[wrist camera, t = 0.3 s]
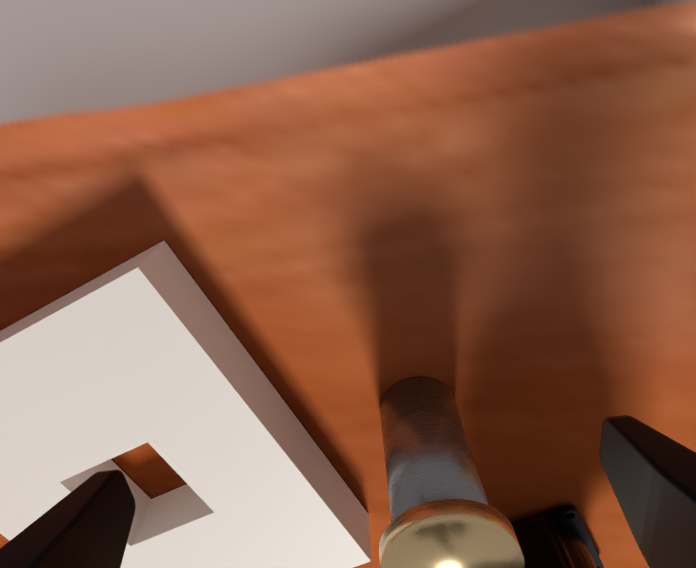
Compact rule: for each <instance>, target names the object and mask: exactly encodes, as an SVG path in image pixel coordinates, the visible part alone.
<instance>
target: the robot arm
mask: <svg viewBox="0 0 696 568" xmlns="http://www.w3.org/2000/svg"><path fill="white" fill-rule="evenodd" d="M600 459H601V463H602V466H603V468H604V470H605V472H606V475H607V477H608V479H609V482H610V484H611V486H612V488H613V491H614V493H615V495H616V497H617V500H618V502H619V504H620V506H621V509H622V511H623V513H624V515H625V518H626V520H627V522H628V525H629V527H630V529H631V531H632V534H633V536H634V538H635V540H636V542H637V544H638V546H639V549H640V550H641V552H642V554H643V556H644V558H645V560H646V562H647V563H648V565H649V567H650V568H696V453H695V452H694V451H692V450H690V449H688V448H686V447H685V446H683V445H681V444H679V443H678V442H676V441H674V440H672V439H671V438H669V437H667V436H665V435H664V434H662V433H660V432H658V431H656V430H655V429H653V428H651V427H649V426H648V425H646V424H644V423H642V422H641V421H639V420H637V419H635V418H633V417H631V416H628V415H623V416H613V417H607V418H605V419H604V421H603V425H602V434H601V443H600ZM135 509H136V503H135V498H134V496H133V494H132V491H131V489H130V487H129V485H128V482H127V480H126V478H125V476H124V474H123V472H122V471H121V470H119V469H112V470H102V471H98V472H96V473H95V474H93V475H92V476H91V477H89V478H88V479H87V480H86V481H84V482H83V483H82V484H81V485H79V486H78V487H77V488H76V489H74V490H73V491H72V492H71V493H69V494H68V495H67V496H66V497H64V498H63V499H62V500H61V501H59V502H58V503H57V504H56V505H54V506H53V507H52V508H51V509H49V510H48V511H47V512H46V513H44V514H43V515H42V516H41V517H39V518H38V519H37V520H35V521H34V522H33V523H32V524H30V525H29V526H28V527H27V528H25V529H24V530H23V531H22V532H20V533H19V534H18V535H17V536H15V537H14V538H13V539H12V540H10V541H9V542H8V543H7V544H5V545H4V546H3V547H2V548H0V568H120V567H121V564H122V560H123V556H124V552H125V549H126V545H127V541H128V537H129V533H130V530H131V526H132V522H133V518H134V515H135ZM512 527H513V529H514V531H515V534H516V537H517V540H518V542H519V545H520V548H521V551H522V553H523V557H524V562H525V567H524V568H604V567H603V564H602V562H601V560H600V558H599V556H598V553H597V551H596V549H595V547H594V545H593V543H592V541H591V538H590V536H589V534H588V532H587V530H586V528H585V526H584V523H583V521H582V519H581V517H580V515H579V513H578V511H577V509H576V507H575V506H574V505H570V504H568V505H564V506H561V507H558V508H555V509H552V510H550V511H547V512H544V513H541V514H538V515H535V516H532V517H529V518H527V519H524V520H521V521H518V522H515V523H512Z"/></svg>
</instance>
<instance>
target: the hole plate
mask: <svg viewBox="0 0 696 568" xmlns="http://www.w3.org/2000/svg"><path fill="white" fill-rule="evenodd" d="M147 442H148V443H149V444H150V445H151V446H152V447H153V448H154V449H155V450H156V451H157V453H158V454H159V455H160V456H161V457H162V458H163V459H164V460H165V461H166V462H167V463H168V464H169V465H170V466H171V467H172V468H173V469H174V470H175V472H176V473H177V474H178V475H179V476H180V477H181V478H182V479H183V480H184V481H185V482H186V483H187V484H186V485H183V486H181V487H178V488H176V489H174V490H171V491H169V492H167V493H164V494H162V495H160V496H157V497H155V498H152V499H151V498H150V497H149V496H148V495H147V494H146V493H144V492H143V491H142V490H141V489H140V488H139V487H138V486H137V485H136V484H135V483H134V482H133V481H132V480H131V479H130V478H129V477H128V476H127V475H126V474H125V473H124V472H123V471H122V470H121V469H120V468H119V467H118V466H117V465H116V464H115V463H114V462H113V461H112V460H111V459H112V458H114V457H116V456H118V455H120V454H123V453H125V452H127V451H129V450H132V449H134V448H136V447H138V446H140V445H143V444H145V443H147ZM112 469H119V470H121V471H122V472H123V474H124V476H125V478H126V480H127V482H128V485H129V487H130V489H131V491H132V494H133V496H134V498H135V503H136V509H135V515H134V518H133V522H132V526H131V530H130V533H129V537H128V541H127V545H126V549H125V552H124V556H123V560H122V564H121V567H120V568H353V567H356V566H359V565H361V564H364V563H367V562H370V561H371V553H370V534H369V516H368V513H367V511H366V510H365V509H364V507H363V506H362V505H361V503H360V502H359V501H358V499H357V498H356V497H355V495H354V494H353V493H352V491H351V490H350V489H349V487H348V486H347V485H346V483H345V482H344V481H343V479H342V478H341V477H340V475H339V474H338V472H337V471H336V470H335V468H334V467H333V466H332V464H331V463H330V462H329V460H328V459H327V458H326V456H325V455H324V454H323V452H322V451H321V450H320V448H319V447H318V446H317V444H316V443H315V442H314V440H313V439H312V438H311V436H310V435H309V434H308V432H307V431H306V430H305V428H304V427H303V426H302V424H301V423H300V422H299V420H298V419H297V418H296V416H295V415H294V414H293V412H292V411H291V410H290V408H289V407H288V406H287V404H286V403H285V401H284V400H283V399H282V397H281V396H280V395H279V393H278V392H277V391H276V389H275V388H274V387H273V385H272V384H271V383H270V381H269V380H268V379H267V377H266V376H265V375H264V373H263V372H262V371H261V369H260V368H259V367H258V365H257V364H256V363H255V361H254V360H253V359H252V357H251V356H250V355H249V353H248V352H247V351H246V349H245V348H244V347H243V345H242V344H241V343H240V341H239V340H238V339H237V337H236V336H235V335H234V333H233V332H232V331H231V329H230V328H229V326H228V325H227V324H226V322H225V321H224V320H223V318H222V317H221V316H220V314H219V313H218V312H217V310H216V309H215V308H214V306H213V305H212V304H211V302H210V301H209V300H208V298H207V297H206V296H205V294H204V293H203V292H202V290H201V289H200V288H199V286H198V285H197V284H196V282H195V281H194V280H193V278H192V277H191V276H190V274H189V273H188V272H187V270H186V269H185V268H184V266H183V265H182V264H181V262H180V261H179V260H178V258H177V257H176V256H175V254H174V253H173V251H172V250H171V249H170V247H169V246H168V245H167V243H166V242H165V241H162V242H160V243H158V244H157V245H155V246H153V247H151V248H149V249H147V250H146V251H144V252H142V253H140V254H138V255H137V256H135V257H133V258H131V259H129V260H128V261H126V262H124V263H122V264H120V265H119V266H117V267H115V268H113V269H111V270H109V271H108V272H106V273H104V274H102V275H100V276H99V277H97V278H95V279H93V280H91V281H90V282H88V283H86V284H84V285H82V286H81V287H79V288H77V289H75V290H73V291H72V292H70V293H68V294H66V295H64V296H62V297H61V298H59V299H57V300H55V301H53V302H52V303H50V304H48V305H46V306H44V307H43V308H41V309H39V310H37V311H35V312H34V313H32V314H30V315H28V316H26V317H24V318H23V319H21V320H19V321H17V322H15V323H14V324H12V325H10V326H8V327H6V328H5V329H3V330H1V331H0V533H1V534H2V535H3V536H4V537H6V538H7V539H8V540H9V541H10V540H12V539H13V538H14V537H15V536H17V535H18V534H19V533H20V532H22V531H23V530H24V529H25V528H27V527H28V526H29V525H30V524H32V523H33V522H34V521H35V520H37V519H38V518H39V517H41V516H42V515H43V514H44V513H46V512H47V511H48V510H49V509H51V508H52V507H53V506H54V505H56V504H57V503H58V502H59V501H61V500H62V499H63V498H64V497H66V496H67V495H68V494H69V493H71V492H72V491H73V490H74V489H76V488H77V487H78V486H79V485H81V484H82V483H83V482H84V481H86V480H87V479H88V478H89V477H91V476H92V475H93V474H95V473H96V472H98V471H102V470H112Z"/></svg>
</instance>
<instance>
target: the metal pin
mask: <svg viewBox="0 0 696 568" xmlns="http://www.w3.org/2000/svg"><path fill="white" fill-rule="evenodd" d="M380 415H381V425H382V434H383V444H384V453H385V463H386V472H387V482H388V491H389V501H390V510H391V520H392V522H391V523H390V524H389V525H388V527H387V528H386V529H385V531H384V533H383V534H382V537H381V539H380V544H379V557H380V568H524V567H525V562H524V557H523V553H522V551H521V548H520V545H519V542H518V540H517V537H516V534H515V531H514V529H513V527H512V524H511V523H510V521H509V520H508V519H507V518H506V517H505V516H504V515H503V514H502V513H501V512H499V511H498V510H496V509H495V508H493V507H491V506H489V504H488V501H487V498H486V495H485V491H484V488H483V485H482V482H481V479H480V476H479V473H478V470H477V467H476V464H475V461H474V458H473V455H472V452H471V448H470V445H469V442H468V439H467V436H466V433H465V430H464V427H463V424H462V421H461V418H460V415H459V412H458V408H457V405H456V402H455V399H454V396H453V394H452V392H451V391H450V389H449V388H448V387H447V386H446V385H444V384H443V383H441V382H440V381H438V380H435V379H432V378H427V377H413V378H408V379H405V380H402V381H400V382H398V383H396V384H395V385H393V386H392V387H391V388H389V389H388V391H387V392H386V393H385V394H384V396H383V398H382V400H381V404H380Z"/></svg>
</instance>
